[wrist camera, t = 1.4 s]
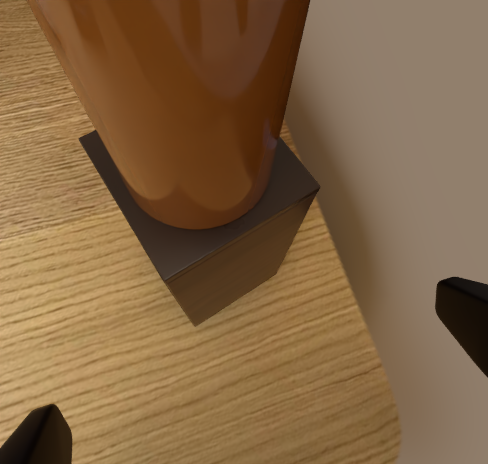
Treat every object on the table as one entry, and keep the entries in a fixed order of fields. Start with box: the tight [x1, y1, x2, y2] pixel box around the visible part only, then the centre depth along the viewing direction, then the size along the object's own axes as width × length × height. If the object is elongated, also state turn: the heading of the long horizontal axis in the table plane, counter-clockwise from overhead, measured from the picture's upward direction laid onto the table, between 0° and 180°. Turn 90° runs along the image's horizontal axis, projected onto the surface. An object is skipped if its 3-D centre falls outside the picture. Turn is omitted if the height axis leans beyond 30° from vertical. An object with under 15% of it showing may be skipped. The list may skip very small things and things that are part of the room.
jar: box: [26, 0, 310, 229], centre depth 8 cm, size 5×5×9 cm
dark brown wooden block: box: [79, 130, 320, 326], centre depth 18 cm, size 6×6×12 cm
